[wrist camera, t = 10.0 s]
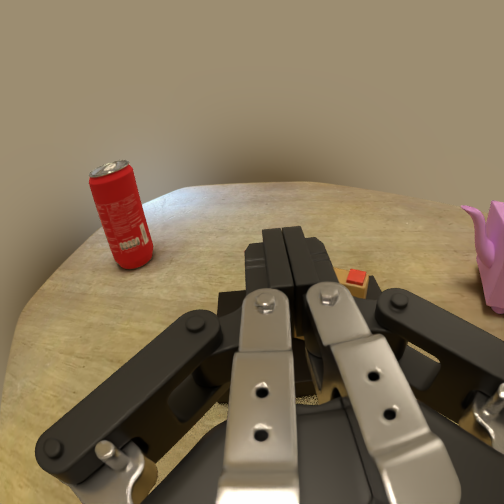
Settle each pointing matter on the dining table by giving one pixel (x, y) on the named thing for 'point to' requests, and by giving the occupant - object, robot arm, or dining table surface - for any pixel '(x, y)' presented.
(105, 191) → the beverage can
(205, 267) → the dining table surface
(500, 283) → the teapot
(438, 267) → the dining table surface
